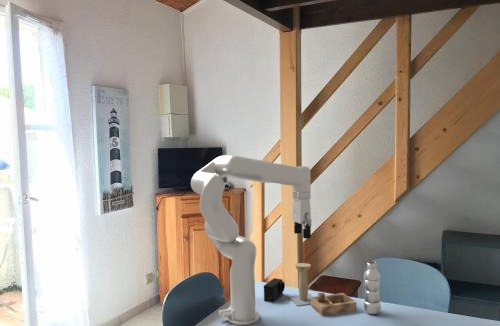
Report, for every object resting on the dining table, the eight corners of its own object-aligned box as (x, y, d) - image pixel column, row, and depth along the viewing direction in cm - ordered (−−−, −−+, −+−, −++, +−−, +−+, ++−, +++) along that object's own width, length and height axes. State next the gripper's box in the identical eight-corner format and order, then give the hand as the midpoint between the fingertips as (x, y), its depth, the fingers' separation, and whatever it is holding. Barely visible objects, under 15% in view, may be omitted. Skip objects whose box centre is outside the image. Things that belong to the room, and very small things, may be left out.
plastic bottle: (363, 315, 156) (362, 264, 155) (364, 308, 162) (364, 259, 161) (380, 317, 154) (380, 265, 153) (381, 310, 160) (380, 260, 159)
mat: (297, 306, 166) (297, 305, 166) (288, 297, 176) (288, 296, 176) (319, 303, 169) (319, 302, 169) (309, 294, 178) (309, 293, 178)
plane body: (321, 316, 156) (321, 299, 156) (310, 305, 166) (310, 290, 166) (356, 310, 160) (356, 294, 160) (343, 301, 170) (343, 286, 170)
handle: (310, 302, 169) (310, 267, 168) (295, 301, 170) (294, 266, 170) (311, 297, 174) (311, 263, 173) (296, 296, 175) (296, 262, 174)
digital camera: (275, 303, 170) (275, 287, 169) (264, 301, 172) (263, 285, 172) (285, 295, 179) (284, 279, 179) (274, 293, 181) (273, 277, 181)
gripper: (286, 193, 177) (286, 232, 178) (301, 198, 161) (302, 241, 161) (301, 192, 179) (302, 230, 180) (318, 197, 163) (319, 239, 163)
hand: (302, 235), depth 171 cm, fingers open, 9 cm apart
